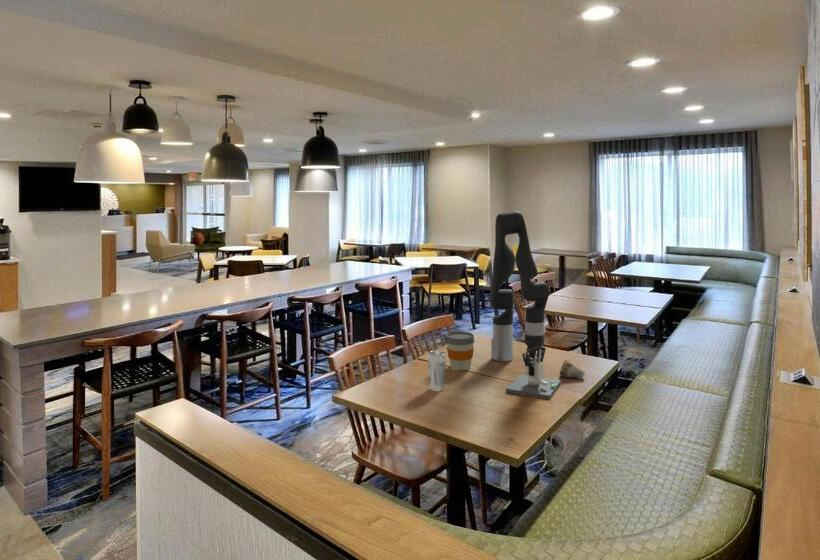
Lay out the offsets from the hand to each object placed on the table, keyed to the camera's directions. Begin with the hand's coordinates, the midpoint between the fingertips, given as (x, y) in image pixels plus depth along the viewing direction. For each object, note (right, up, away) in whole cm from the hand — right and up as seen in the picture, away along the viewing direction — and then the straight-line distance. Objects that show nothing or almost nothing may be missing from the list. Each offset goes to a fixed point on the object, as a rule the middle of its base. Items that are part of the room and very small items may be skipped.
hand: (533, 374), depth 206 cm
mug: (+19, -4, +12) cm, 23 cm away
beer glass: (-38, -6, +3) cm, 39 cm away
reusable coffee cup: (-26, -2, +28) cm, 38 cm away
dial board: (0, -6, +1) cm, 6 cm away
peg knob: (+1, -4, -1) cm, 4 cm away
